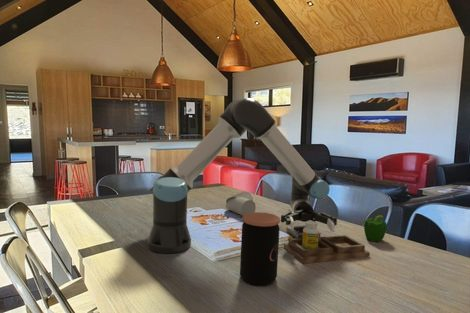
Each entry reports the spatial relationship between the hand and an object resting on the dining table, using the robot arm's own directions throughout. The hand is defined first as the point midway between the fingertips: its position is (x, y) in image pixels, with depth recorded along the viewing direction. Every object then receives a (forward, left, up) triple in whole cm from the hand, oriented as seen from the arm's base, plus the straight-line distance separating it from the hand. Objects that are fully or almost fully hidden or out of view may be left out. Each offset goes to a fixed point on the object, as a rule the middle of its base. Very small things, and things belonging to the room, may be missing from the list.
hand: (312, 226), depth 111 cm
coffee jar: (-24, -11, -10) cm, 29 cm away
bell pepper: (+34, +9, -10) cm, 36 cm away
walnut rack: (+7, +2, -10) cm, 12 cm away
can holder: (+8, +20, -10) cm, 23 cm away
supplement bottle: (0, +2, -9) cm, 9 cm away
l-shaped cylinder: (-5, +58, -10) cm, 59 cm away
